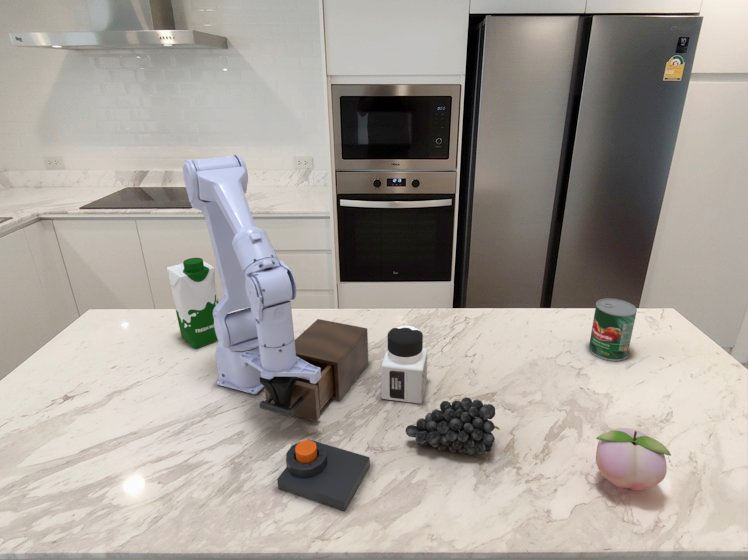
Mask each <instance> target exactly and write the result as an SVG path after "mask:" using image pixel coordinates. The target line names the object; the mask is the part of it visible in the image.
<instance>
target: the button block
mask: <svg viewBox="0 0 748 560" xmlns="http://www.w3.org/2000/svg"><path fill="white" fill-rule="evenodd" d="M307 440H311V441H313V442H315V444H316V446H317V458H316V460H315V461H313V462H311V463H308V464H302V463H299V462H298V461H297V460H296V452H295V447H296V445H297V444H298V443H299V442H297V443H295V444H292V445H291V446H290V448H289V449H288V450H287V452H286V454H285V463H286V467H285V468H284V470H282V473H281V474H280V475H279V476H278V477H277V479H276V481H277V488H278V490H282V491H283V492H287V493H290V494H293V495H296V496H298V497H302V498H305V499H307V500H310V501H313V502H317V503H319V504H322V505H326V506H329V507H331V508H334V509H337V510H340V511H342V512H346V510H347V508H348V506H349V504H350V503H351V500H352V499H353V497H354V495H355V493H356V492H357V490H358V488H359V486H360V485H361V483H362V481H363V479H364V477H365V476H366V475H367V472H368V470H369V469H370V466H371V464H370V462H371V461H370V456H366V455H365V454H359V453H356V452H354V451H349V450H347V449H343V448H339V447H337V446H333V445H329V444H325V443H322V442H320V441H316V440H312V439H307Z"/></svg>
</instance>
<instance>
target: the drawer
mask: <svg viewBox="0 0 748 560" xmlns="http://www.w3.org/2000/svg"><path fill="white" fill-rule="evenodd" d="M300 359H302V360H304V361H306V362H308V363H309V364H311V365H313V366H316V367H319V368H321V378H320V380H319V381H318V382H317V383H316V384H313V383H310V380H307V379H303V378H299V377H298V379H297V381H296V383H295V386H294V389H293V393H292V397H291V404H290V406H289V407H285V406H281V405H277V404H275V403H274V401H273V399H272V397H271V395H270V393H269V392H268V391H267V389H266V388H265V387H264V394H265V400H261V401H260V402H259V404H258V407H259V409H260V410H262V411H266V412H270V413H273V414H277V415H280V416H283V417H288V418H292V417H293V416H296V417H299V418H303V419H306V420H309V421H313V422H318V421H319V420H320V418H321V411H322V409H323V408H324V407H325V406H326V404H327V403H328V402H329V401H330V400H331V399H330V398H331V397H332V395H333V394H334V393H335V392H336V391H335V375H334V365H330V364H325V363H321V362H317V361H312V360H308V359H303V358H300Z"/></svg>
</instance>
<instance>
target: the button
mask: <svg viewBox="0 0 748 560" xmlns="http://www.w3.org/2000/svg"><path fill="white" fill-rule="evenodd" d="M311 440H312V439H309V440H308V439H305V440H300V441H298V442H297V443H298V444H297V443H296V444H297V445H296V447H295V452H296V460H297V461H298V462H299V463H302V464H308V463H311V462H313V461H315V460H316V458H317V446H316V444H315V442H313V441H314V440H313V441H311Z"/></svg>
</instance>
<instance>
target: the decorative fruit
mask: <svg viewBox="0 0 748 560" xmlns="http://www.w3.org/2000/svg"><path fill="white" fill-rule="evenodd" d="M596 440H598V441H597V446H596V451H595V463H596V467H597V469H598V471H599V472H600V474H601V475H602V476H603V477H604V478H605V479H606V480H607V481H608V482H609V483H611V484H612V485H614V486H616V487H617V488H620V489H630V490H632V491H645V490H648V489H651V488H654V487H656V486H658V485H659V484H661V482H663V481H664V480H665V478H666V475H667V471H668V470H667V469H668V468H667V459H666V456H672V454H671V452H670V451H669V449H668V448H667V447H666V446H665V445H664V444H663V443H661V442H660V441H659V440H657V439H655V438H654V437H650V436H649V435H647V434H646V433H644V432H642V431H640V430H637V429H633V428H628V427H627V428H626V427H619V428H613V429H610V430H608V431H606V432H603V433H602V434H600V435H599V436H597V437H596ZM665 455H666V456H665Z"/></svg>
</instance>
